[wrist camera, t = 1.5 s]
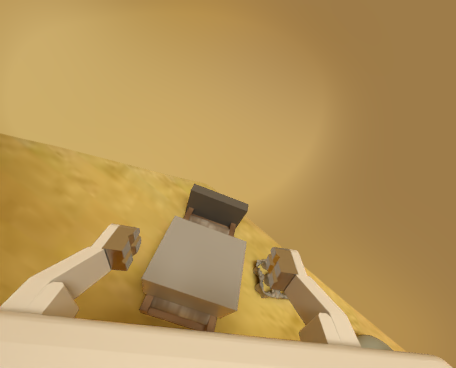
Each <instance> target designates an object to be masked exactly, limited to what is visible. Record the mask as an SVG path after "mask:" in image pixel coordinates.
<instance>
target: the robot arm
mask: <svg viewBox="0 0 456 368" xmlns="http://www.w3.org/2000/svg"><path fill="white" fill-rule="evenodd" d="M139 233H140V229H139V228H135V227H129V226H124V225H117V224H111V225H109V226H108V227H107V228H106V229H105V231H104V232H103V233H102V234H101V235H100V237H99V238H98V239H97V240H96V241H95V243H94V244H93V245H92V246H91V247H87V248H85V249H83V250H81V251H79V252H77V253H75V254H73V255H71V256H70V257H68V258H66V259H64V260H62V261H60V262H58V263H56V264H54V265H53V266H51V267H49V268H47V269H45V270H43V271H41V272H39V273H37V274H35V275H34V276H32V277H30V278H29V279H28V280H27V281H26V282H25V283H24V284H23V285H22V286H20V287H19V288H18V289H17V290H16V291H15V292H14V293H13V294H12V295H11V296H10V297H9V298H8V299H7V300H6V301H5V302H4V303H3V304H2V305H1V306H0V368H452V366H450V365H449V364H448V363H446V362H445V361H444V360H443V359H440V358H439V357H436V356H433V355H429V354H419V353H410V352H400V351H391V350H381V349H371V348H362V347H361V345H360V343H359V341H358V339H357V337H356V334H355V332H354V330H353V328H352V326H351V324H350V322H349V320H348V317H347V315H346V314H345V313H344V312H343V311H342V310H341V309H340V308H339V307H338V306H337V305H336V304H335V303H334V302H333V300H332V299H331V298H330V297H329V296H328V295H327V294H326V293H325V292H324V291H323V290H322V289H321V288H320V287H319V286H318V285H317V284H316V282H315V281H314V280H313V279H312V278H311V277H310V276H307V274H306V271H305V268H304V266H303V263H302V261H301V258H300V255H299V253H298V251H297V250H290V249H284V248H277V247H273V248H272V249H271V254H269V255H268V257H267V262H266V267H267V271H268V272H269V274H270V276H269V277H268V279H269V284H270V289H274V290H280V291H284V293H285V294H286V296H287V297H288V299H289V300H290V302H291V303H292V305H293V307H294V308H295V310H296V311H297V313H298V314H299V316H300V317H301V319H302V320H303V322H304V323H305V325H306V326H305V327H304V328H303V329H302V330H300V332H299V336H300V340H301V341H294V340H284V339H274V338H265V337H255V336H245V335H235V334H226V333H216V332H206V331H197V330H187V329H177V328H168V327H158V326H148V325H138V324H129V323H119V322H109V321H99V320H90V319H80V318H74V317H75V315H76V314H77V312H78V310H79V307H78V305H77V304H76V302H75V301H74V299H75V298H77V297H78V296H79V295H80V294H82V293H83V292H84V291H85V290H87V289H88V288H89V287H91V286H92V285H93V284H94V283H96V282H97V281H98V280H99V279H101V278H102V277H103V276H105V275H106V274H107V273H108V272H110V271H111V270H121V271H127V270H128V268H129V266H130V264H131V263H132V261H133V258H132V256H133V255H135V254H136V253H137V252H138V250H139V247H140V244H141V237H140V236H139Z"/></svg>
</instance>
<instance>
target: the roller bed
mask: <svg viewBox="0 0 456 368" xmlns="http://www.w3.org/2000/svg"><path fill="white" fill-rule="evenodd" d="M247 210H248V204H246V203H243V202H241V201H238V200H235V199H233V198H230V197H227V196H225V195H222V194H220V193H217V192H214V191H212V190H209V189H207V188H204V187H201V186H199V185H196V184H194V186H193V188H192V189H191V193H190V197H189V201H188V205H187V209H186V214H185V216H184V219H185V220H188V221H191V222H194V223H196V224H199V225H202V226H205V227H207V228H210V229H213V230H216V231H218V232H221V233H224V234H226V235H229V236H232V237H233V236H234V232H235V228H236V227H237V226H238V224H239V223H240V221H241V220H242V218H243V217H244V215H245V214H246V213H247ZM139 310H140V312H141V313H144V314H147V315H150V316H153V317H157V318H160V319H163V320H166V321H169V322H172V323H175V324H178V325H181V326H184V327H188V328H191V329H194V330H197V331H206V332H214V330H215V325H216V320H217V317H215V316H212V315H209V314H206V313H203V312H200V311H197V310H194V309H191V308H188V307H184V306H181V305H178V304H175V303H172V302H169V301H166V300H163V299H160V298H157V297H154V296H151V295H148V294H147V295H146V297H145V299H144V301H143V303H142V305H141V307H140V309H139Z"/></svg>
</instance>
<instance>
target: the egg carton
mask: <svg viewBox="0 0 456 368" xmlns="http://www.w3.org/2000/svg"><path fill="white" fill-rule="evenodd" d="M266 262H267V259H265V260H257V263H256V265H257V266H259V265H260V264H261V265H262V267H263V268H264V269H266V270H267V267H266ZM257 266H256V267H255V268H254V269H253V273H254V274H256V275H257V276H258V277H259V283H258V284H257V285H255V290H256V291H257V292H259V293H260V295H261V297H262V298H267V297H269V296H271V297H276V299H281V298H286V299H288V297H287V296H286V294H285V293H282V294H281V293H280V290H274V289H273V290H272V291H270V292H264V290H263V283H262V282H263V280H264V283H265V284H266V285H267V286H270V284H269V279H268V277H269V276H270V274H269V273H268V274H266V275H265V276H264V274H262V271H260V268H257Z"/></svg>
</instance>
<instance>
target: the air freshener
mask: <svg viewBox="0 0 456 368" xmlns="http://www.w3.org/2000/svg"><path fill="white" fill-rule="evenodd" d="M357 339H358V341H359V343H360V345H361V347H362V348H371V349H381V350H391V351H393V350H392V349H391V348H390V347H389V346H388V345H386V344H385V343H384V342H382V341H381V340H379V339H377V338H375V337H373V336H370V335H360V336H357Z"/></svg>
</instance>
